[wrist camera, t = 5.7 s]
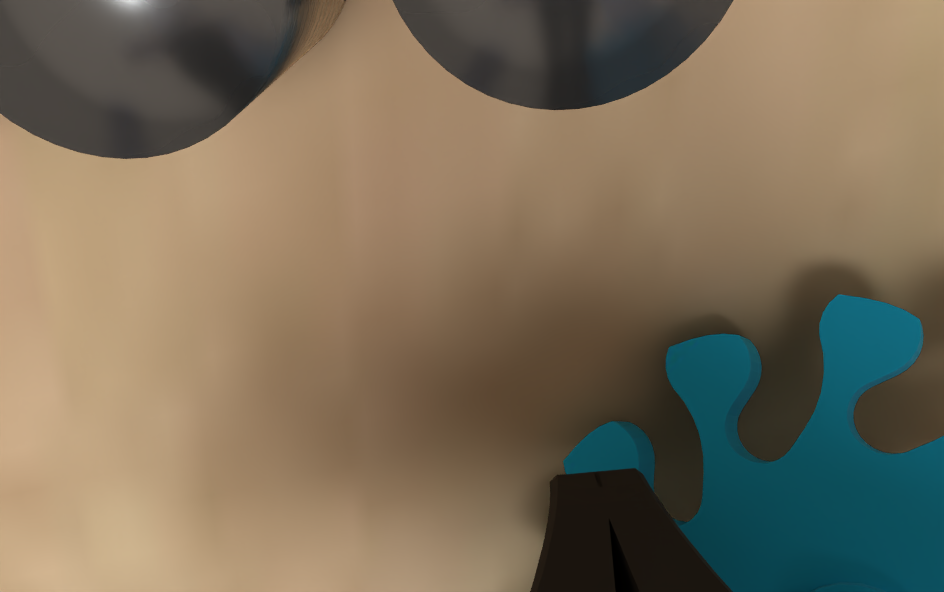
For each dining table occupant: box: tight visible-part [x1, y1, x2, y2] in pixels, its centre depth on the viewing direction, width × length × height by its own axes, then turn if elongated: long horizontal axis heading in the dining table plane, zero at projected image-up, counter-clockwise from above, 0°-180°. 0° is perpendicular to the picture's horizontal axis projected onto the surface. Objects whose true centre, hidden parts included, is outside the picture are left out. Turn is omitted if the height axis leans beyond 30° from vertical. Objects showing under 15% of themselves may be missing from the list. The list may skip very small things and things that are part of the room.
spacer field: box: [0, 0, 733, 159], centre depth 13 cm, size 11×20×4 cm, turn 6°
